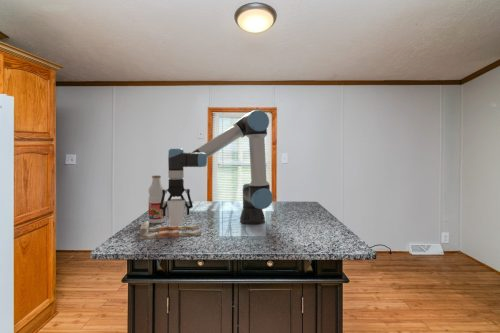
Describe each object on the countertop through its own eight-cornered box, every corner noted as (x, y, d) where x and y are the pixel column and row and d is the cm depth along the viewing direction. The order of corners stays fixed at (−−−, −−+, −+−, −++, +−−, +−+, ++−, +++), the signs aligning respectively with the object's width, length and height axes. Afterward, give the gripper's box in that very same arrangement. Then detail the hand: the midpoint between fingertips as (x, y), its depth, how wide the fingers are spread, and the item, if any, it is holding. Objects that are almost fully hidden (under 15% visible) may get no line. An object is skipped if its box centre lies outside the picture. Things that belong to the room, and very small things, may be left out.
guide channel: (198, 227, 164) (198, 218, 163) (201, 235, 149) (201, 225, 149) (143, 231, 156) (142, 222, 156) (140, 239, 142) (139, 229, 141)
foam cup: (163, 225, 151) (162, 200, 150) (174, 222, 159) (174, 198, 159) (178, 227, 147) (178, 201, 147) (189, 223, 156) (189, 199, 155)
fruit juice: (167, 221, 178) (167, 175, 177) (153, 224, 172) (152, 176, 171) (160, 219, 185) (160, 174, 184) (146, 221, 179) (145, 175, 178)
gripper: (197, 177, 159) (197, 219, 159) (154, 178, 153) (154, 221, 154) (198, 178, 151) (198, 222, 152) (153, 179, 146) (153, 224, 147)
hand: (176, 221), depth 153 cm, fingers closed on foam cup, 9 cm apart
